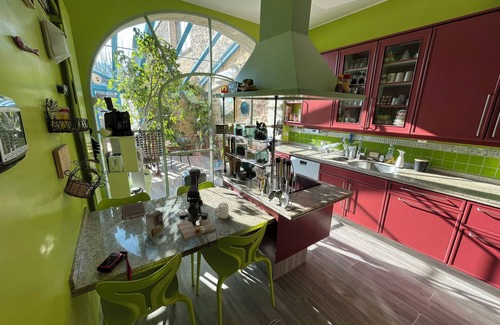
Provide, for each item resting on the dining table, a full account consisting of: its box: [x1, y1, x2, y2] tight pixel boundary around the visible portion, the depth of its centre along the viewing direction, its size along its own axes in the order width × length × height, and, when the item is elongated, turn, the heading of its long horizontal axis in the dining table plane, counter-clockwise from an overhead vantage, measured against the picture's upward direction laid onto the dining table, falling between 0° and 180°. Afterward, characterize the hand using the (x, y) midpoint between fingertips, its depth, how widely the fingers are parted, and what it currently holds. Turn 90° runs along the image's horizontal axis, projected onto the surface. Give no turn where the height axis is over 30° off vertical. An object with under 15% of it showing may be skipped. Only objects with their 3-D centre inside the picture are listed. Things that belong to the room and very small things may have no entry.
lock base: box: [176, 218, 216, 241], centre depth 148 cm, size 20×22×2 cm
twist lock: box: [195, 217, 201, 232], centre depth 148 cm, size 15×5×4 cm, turn 13°
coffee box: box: [144, 209, 165, 240], centre depth 138 cm, size 9×6×16 cm
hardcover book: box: [121, 201, 146, 220], centre depth 171 cm, size 16×23×2 cm
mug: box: [213, 202, 230, 219], centre depth 164 cm, size 12×8×10 cm
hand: (194, 226), depth 144 cm, fingers closed
